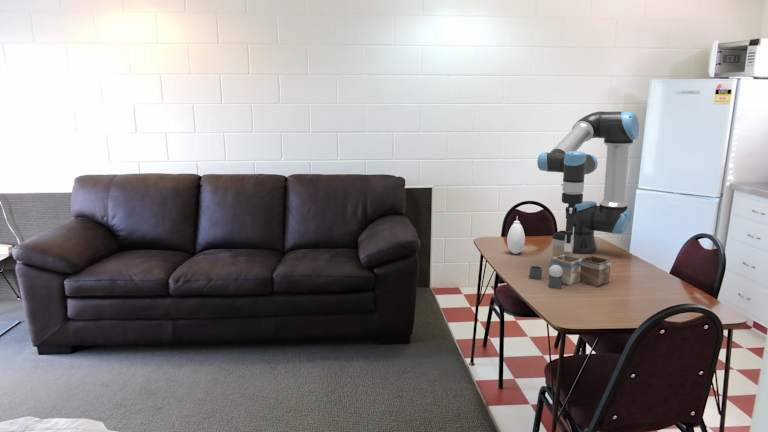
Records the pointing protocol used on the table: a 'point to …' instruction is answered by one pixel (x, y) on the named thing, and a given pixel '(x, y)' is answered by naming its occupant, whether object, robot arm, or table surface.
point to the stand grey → (554, 282)
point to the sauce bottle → (516, 238)
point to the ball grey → (555, 271)
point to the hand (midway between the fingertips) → (568, 246)
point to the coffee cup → (560, 244)
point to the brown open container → (595, 271)
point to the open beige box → (568, 268)
